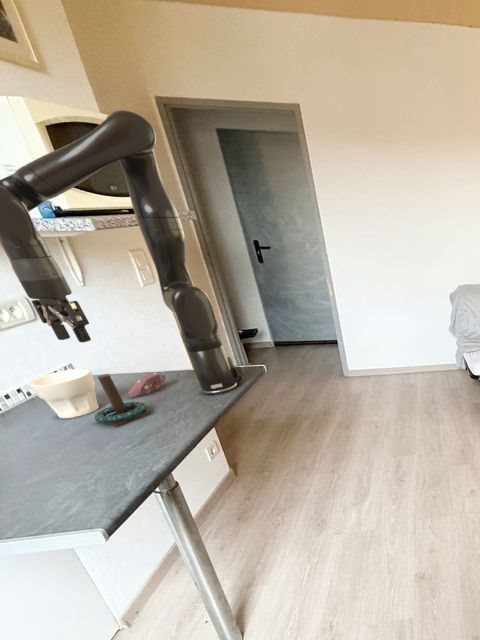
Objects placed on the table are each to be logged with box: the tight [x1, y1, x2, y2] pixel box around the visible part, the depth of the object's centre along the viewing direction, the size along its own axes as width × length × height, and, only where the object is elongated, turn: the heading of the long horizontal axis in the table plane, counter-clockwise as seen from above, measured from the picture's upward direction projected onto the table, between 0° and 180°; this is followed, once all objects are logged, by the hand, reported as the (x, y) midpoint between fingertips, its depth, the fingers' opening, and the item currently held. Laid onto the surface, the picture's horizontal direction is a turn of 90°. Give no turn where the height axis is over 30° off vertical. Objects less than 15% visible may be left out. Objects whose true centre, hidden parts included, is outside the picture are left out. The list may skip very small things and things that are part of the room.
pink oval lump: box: [128, 372, 167, 398], centre depth 132 cm, size 10×5×7 cm, turn 179°
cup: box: [27, 368, 100, 419], centre depth 118 cm, size 12×12×11 cm
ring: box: [94, 401, 147, 423], centre depth 116 cm, size 11×11×2 cm
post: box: [97, 373, 151, 428], centre depth 114 cm, size 8×8×13 cm
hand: (75, 340), depth 108 cm, fingers open, 8 cm apart
